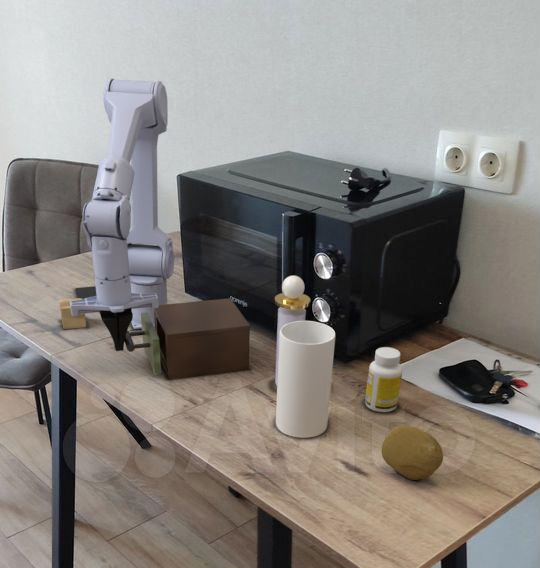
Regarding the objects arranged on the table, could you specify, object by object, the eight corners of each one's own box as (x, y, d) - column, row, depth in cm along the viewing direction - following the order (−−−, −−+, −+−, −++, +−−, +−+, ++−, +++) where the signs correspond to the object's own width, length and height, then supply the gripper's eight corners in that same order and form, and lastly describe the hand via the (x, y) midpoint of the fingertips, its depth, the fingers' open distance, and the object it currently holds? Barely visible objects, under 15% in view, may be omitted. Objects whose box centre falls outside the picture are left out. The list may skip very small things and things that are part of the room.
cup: (300, 404, 117) (306, 316, 108) (337, 424, 112) (347, 333, 103) (264, 422, 112) (268, 330, 103) (302, 444, 107) (309, 349, 98)
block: (61, 320, 142) (58, 300, 139) (84, 318, 143) (81, 297, 140) (63, 329, 138) (60, 308, 136) (86, 327, 139) (83, 306, 137)
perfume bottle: (311, 389, 122) (319, 278, 111) (283, 397, 119) (289, 285, 108) (291, 375, 125) (297, 267, 114) (264, 383, 123) (268, 273, 112)
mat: (75, 289, 155) (75, 288, 155) (121, 285, 158) (121, 284, 158) (80, 307, 147) (79, 305, 147) (128, 302, 150) (127, 301, 150)
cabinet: (169, 379, 123) (167, 334, 118) (155, 348, 133) (153, 305, 128) (249, 369, 127) (250, 325, 122) (230, 339, 137) (230, 298, 132)
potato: (376, 461, 104) (383, 415, 100) (426, 460, 105) (435, 415, 100) (386, 490, 98) (393, 443, 94) (439, 489, 99) (449, 442, 95)
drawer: (131, 377, 121) (128, 342, 117) (121, 349, 130) (118, 314, 126) (229, 365, 126) (229, 331, 122) (213, 338, 135) (212, 305, 131)
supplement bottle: (403, 405, 118) (411, 352, 113) (384, 417, 115) (392, 363, 109) (377, 393, 121) (384, 341, 116) (358, 404, 118) (364, 352, 112)
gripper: (69, 287, 111) (78, 363, 118) (160, 279, 115) (164, 353, 122) (65, 271, 116) (75, 345, 124) (152, 264, 120) (156, 336, 128)
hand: (119, 348), depth 123 cm, fingers closed
